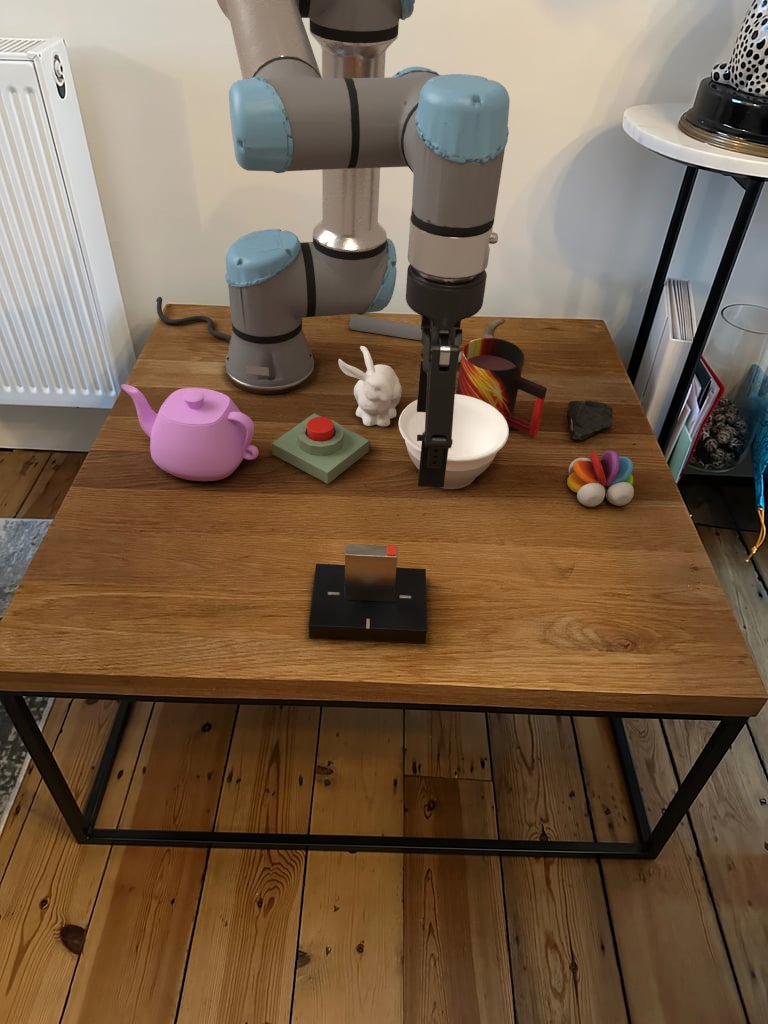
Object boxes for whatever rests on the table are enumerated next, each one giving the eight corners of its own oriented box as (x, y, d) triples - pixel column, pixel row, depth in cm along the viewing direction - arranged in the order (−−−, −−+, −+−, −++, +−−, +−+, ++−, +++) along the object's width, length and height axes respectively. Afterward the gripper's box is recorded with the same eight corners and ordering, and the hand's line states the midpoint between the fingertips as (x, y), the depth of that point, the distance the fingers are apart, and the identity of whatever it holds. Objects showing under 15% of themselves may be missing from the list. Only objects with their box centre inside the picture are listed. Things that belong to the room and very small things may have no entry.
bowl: (396, 435, 121) (399, 390, 115) (496, 440, 121) (504, 395, 116) (394, 502, 110) (397, 456, 104) (504, 508, 110) (514, 462, 104)
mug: (535, 443, 121) (550, 379, 113) (449, 429, 123) (457, 365, 115) (539, 409, 128) (553, 346, 120) (458, 396, 130) (466, 333, 122)
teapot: (274, 443, 118) (269, 379, 110) (244, 499, 109) (237, 433, 101) (153, 422, 121) (140, 358, 113) (114, 475, 111) (96, 408, 103)
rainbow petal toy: (558, 473, 116) (568, 435, 111) (619, 472, 117) (632, 434, 112) (572, 512, 110) (584, 473, 105) (637, 510, 111) (651, 472, 106)
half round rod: (449, 345, 142) (450, 337, 141) (347, 329, 145) (348, 321, 143) (452, 334, 145) (453, 326, 144) (353, 319, 148) (353, 310, 146)
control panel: (308, 639, 91) (308, 625, 90) (316, 575, 99) (316, 561, 97) (425, 644, 92) (427, 630, 90) (424, 580, 99) (425, 567, 97)
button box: (272, 454, 117) (270, 433, 114) (314, 424, 123) (314, 403, 120) (327, 484, 112) (327, 463, 109) (368, 451, 118) (369, 430, 115)
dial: (344, 600, 93) (345, 553, 87) (345, 588, 94) (346, 541, 88) (393, 602, 93) (397, 555, 87) (394, 591, 94) (397, 544, 88)
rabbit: (392, 437, 121) (395, 372, 113) (334, 428, 122) (334, 363, 114) (405, 394, 130) (410, 332, 121) (351, 386, 131) (352, 324, 123)
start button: (301, 435, 114) (301, 425, 113) (318, 422, 117) (318, 413, 116) (322, 445, 113) (322, 436, 112) (339, 433, 115) (339, 423, 114)
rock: (615, 445, 122) (623, 420, 118) (571, 443, 122) (578, 417, 118) (604, 411, 129) (611, 386, 125) (563, 409, 128) (569, 384, 125)
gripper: (499, 335, 62) (469, 522, 77) (478, 216, 81) (457, 385, 95) (408, 330, 62) (394, 519, 77) (407, 212, 81) (397, 382, 95)
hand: (429, 445), depth 86 cm, fingers open, 13 cm apart
